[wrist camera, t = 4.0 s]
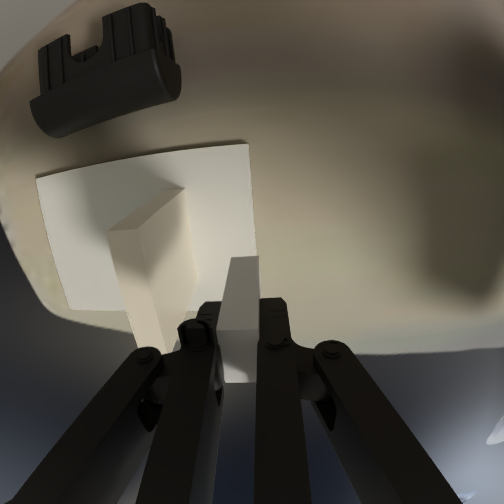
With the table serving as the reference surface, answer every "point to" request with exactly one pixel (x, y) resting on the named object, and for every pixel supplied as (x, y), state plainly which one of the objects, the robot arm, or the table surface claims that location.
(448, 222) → the table surface
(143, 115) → the table surface
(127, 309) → the tile
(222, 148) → the mat
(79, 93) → the end cap
